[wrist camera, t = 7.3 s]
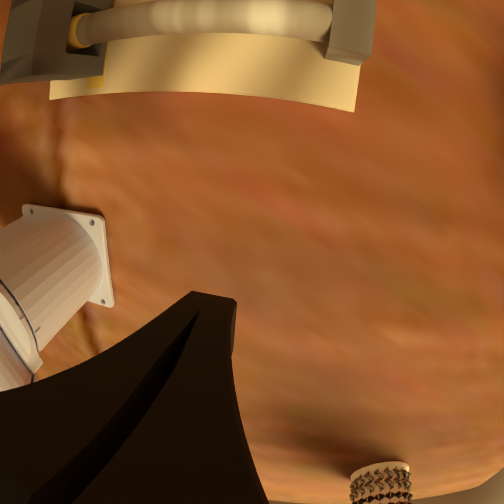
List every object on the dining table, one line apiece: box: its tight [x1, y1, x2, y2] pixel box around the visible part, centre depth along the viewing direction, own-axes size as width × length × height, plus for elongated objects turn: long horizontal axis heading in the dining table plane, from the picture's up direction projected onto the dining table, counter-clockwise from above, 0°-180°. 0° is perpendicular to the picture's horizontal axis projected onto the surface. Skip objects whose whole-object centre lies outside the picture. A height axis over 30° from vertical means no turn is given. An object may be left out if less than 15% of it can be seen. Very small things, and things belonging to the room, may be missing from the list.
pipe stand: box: [49, 0, 376, 112], centre depth 12 cm, size 20×8×4 cm, turn 84°
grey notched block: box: [0, 0, 114, 85], centre depth 11 cm, size 3×6×6 cm, turn 173°
